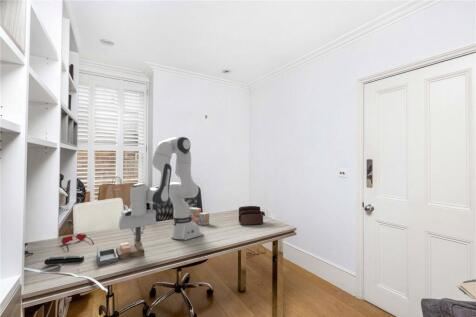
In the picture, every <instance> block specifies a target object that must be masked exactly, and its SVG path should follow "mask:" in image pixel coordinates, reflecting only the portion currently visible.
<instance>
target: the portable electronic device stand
mask: <svg viewBox="0 0 476 317" xmlns="http://www.w3.org/2000/svg"><path fill="white" fill-rule="evenodd" d="M84 261H85V256H84V255H70V256H69V255H67V256H50V257H48V258H46V259H45V260H44V262H43V263H44V265H46V266H49V265H50V266H51V265H62V264H74V263H76V264H77V263H78V264H79V263H83V262H84Z"/></svg>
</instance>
